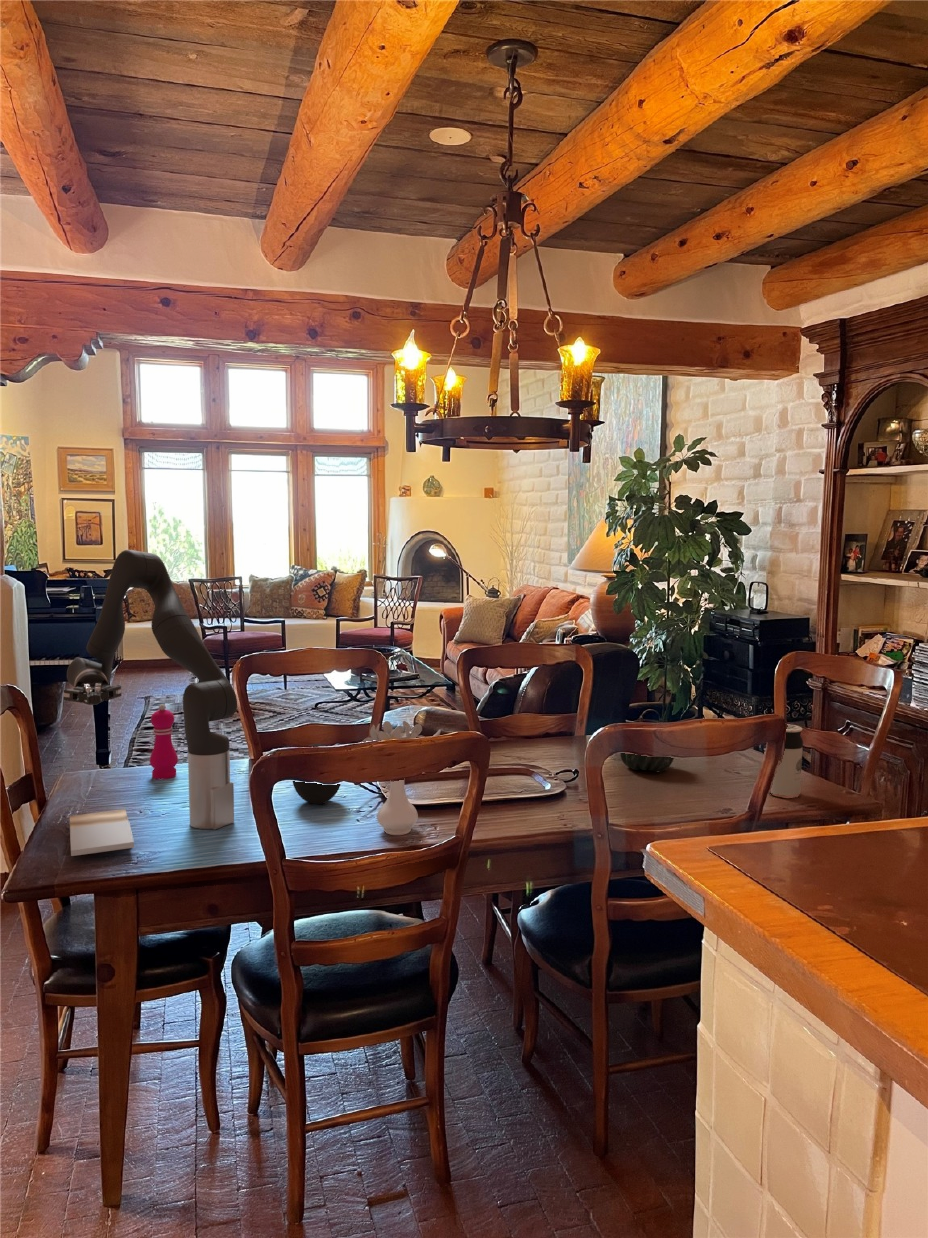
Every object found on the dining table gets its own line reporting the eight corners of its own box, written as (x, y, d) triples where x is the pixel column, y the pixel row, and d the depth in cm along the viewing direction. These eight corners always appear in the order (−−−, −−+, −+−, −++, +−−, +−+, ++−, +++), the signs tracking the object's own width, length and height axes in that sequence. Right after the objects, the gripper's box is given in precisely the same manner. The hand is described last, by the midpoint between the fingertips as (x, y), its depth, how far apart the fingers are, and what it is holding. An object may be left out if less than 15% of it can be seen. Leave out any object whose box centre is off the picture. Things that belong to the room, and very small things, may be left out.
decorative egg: (352, 803, 219) (352, 744, 217) (313, 815, 210) (312, 753, 208) (321, 792, 227) (320, 735, 225) (281, 803, 218) (281, 744, 216)
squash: (609, 743, 258) (626, 713, 248) (656, 742, 262) (674, 713, 251) (622, 785, 249) (640, 755, 238) (670, 783, 253) (690, 754, 242)
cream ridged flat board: (69, 824, 202) (69, 815, 201) (125, 817, 207) (125, 809, 206) (71, 855, 183) (70, 846, 183) (132, 846, 188) (131, 837, 188)
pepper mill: (162, 781, 235) (160, 708, 232) (144, 777, 238) (142, 705, 236) (183, 775, 241) (181, 703, 238) (166, 771, 244) (164, 700, 242)
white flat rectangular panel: (69, 828, 190) (70, 850, 178) (128, 820, 195) (133, 842, 183) (70, 833, 190) (71, 856, 178) (129, 825, 195) (134, 847, 183)
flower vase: (448, 833, 198) (449, 725, 196) (371, 845, 190) (371, 733, 188) (425, 815, 210) (425, 713, 207) (351, 826, 202) (351, 720, 199)
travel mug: (761, 793, 230) (764, 726, 228) (778, 788, 235) (782, 722, 233) (788, 801, 224) (792, 732, 222) (805, 795, 228) (809, 728, 226)
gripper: (60, 672, 207) (60, 685, 191) (120, 668, 212) (125, 681, 197) (61, 703, 208) (62, 719, 192) (121, 699, 213) (126, 714, 198)
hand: (94, 700), depth 194 cm, fingers closed
